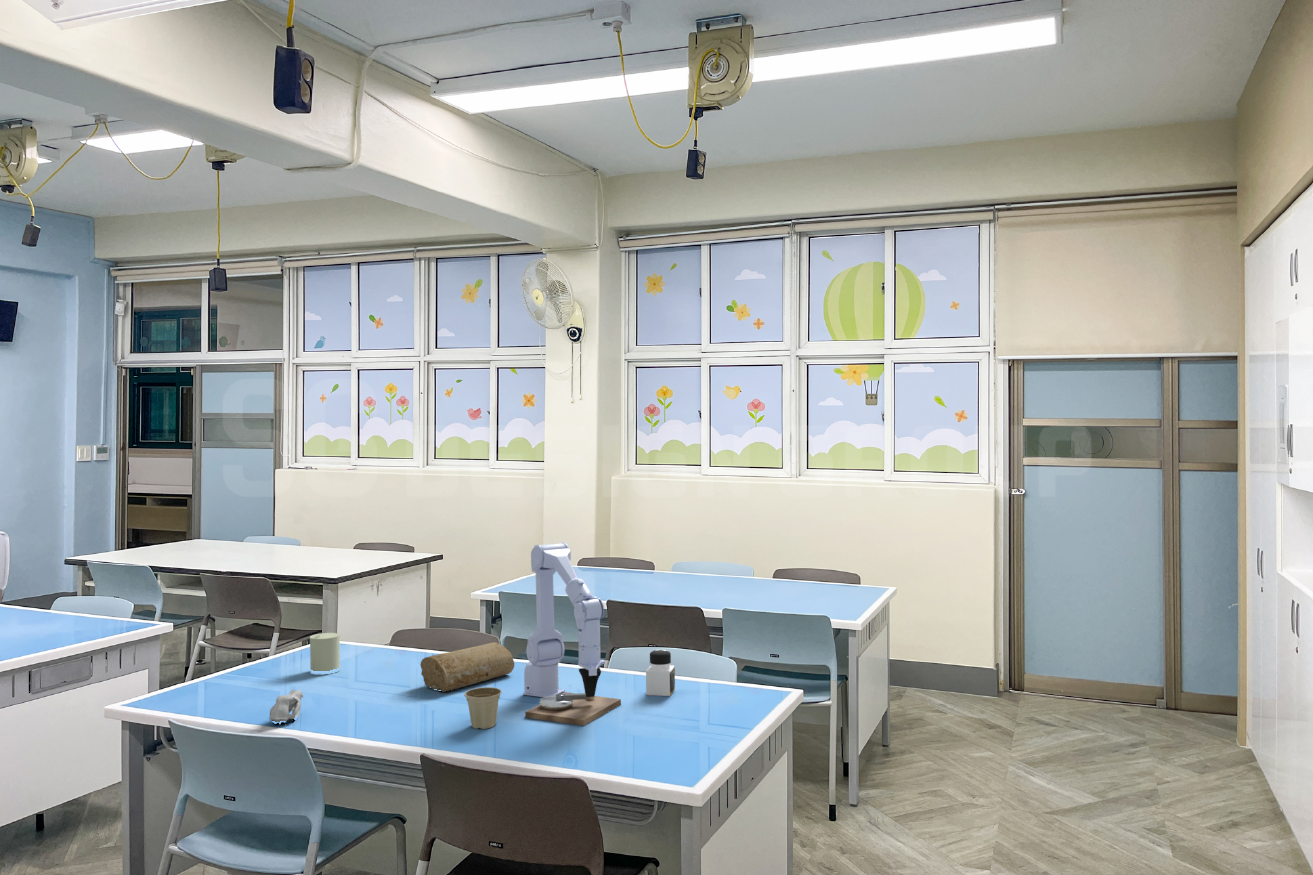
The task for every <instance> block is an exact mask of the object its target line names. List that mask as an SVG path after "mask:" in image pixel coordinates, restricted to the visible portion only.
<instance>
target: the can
mask: <svg viewBox="0 0 1313 875" xmlns="http://www.w3.org/2000/svg"><path fill="white" fill-rule="evenodd" d="M340 636H341V635H340V633H338V632H337V633H336V632H322V633H317V634H313V635H311V636H309V653H310V657H309V658H310V663H309V664H310V665H309V666H310V669H311V670H313V671H330V670H333V669H337V668H339V667H340V668H341V662H340V661H341V660H340V658H341V656H340V655H341V654H340V651H341V650H340V648H341V646H340V644H341V643H340V638H341V637H340Z"/></svg>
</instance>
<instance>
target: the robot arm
mask: <svg viewBox="0 0 1313 875" xmlns="http://www.w3.org/2000/svg"><path fill="white" fill-rule="evenodd" d="M571 557H572V555H571V549H570V546H569V545H568V544H567V543H566V542H560V543H559V542H558V543H550V544H549V543H547V544H536V545H534V547H533V548H532V549H531V551H530V559H531V560H530V564H531V566H530V567H531V572H532V573H535V600H536V601H535V603H536V605H535V606H536V608H535V609H536V629H534V631H533V632H531V634H529V636H528V637H527V645H526V652H525V653H526V657H527V659H528V662H527V664H526V665H525V668H524V672H523V674H524V676H523V677H524V678H523V679H524V681H523V682H524V683H523V684H524V692H523V693H522V696H523V695H524V696H528V697H529V696H531V697H539V698H543V697H546V696H550V695H556V694H562V693H564V692H566V690H565V689H562V688H561V689H560V688H559V663H561V660H562V659H564V658H563V657H564V656H565V644H564V640H563V635H562V633H561V632H559V630H556V629H555V604H554V603H555V598H554V594H555V593H554V575H555V574H556V573H557V574H558V575H559V576H560V578H561V579H562V581H563V582H564V584H565V585H566V586H565V588H564V589H565V593H566V594H567V597H568V599H569V600H570V602H571V604H572V605H573V607H574V609H573V615H574V618H575V625H576V628H577V629H578V630H577V631H578V662H577V665H578V666H579V667H581V668H578V673H579V674H580V676H581V678H582V682H583V683H582V684H583V688H584V693H585V694H586V697H594V696H596V692H597V691H596V690H597V684H598V681H599V678H600V676H601V674H602V670H601V668H600V666H601V665H605V664H606V661H605V660H604V659H601V620H602V619H603V618H604V614H605V607H604V602H603V601H602V599H601V598H600V597H597V596H596V595H593V594H592V592H591V590H590V588H589V587H588V586H587V584H586V582H585V581H584V579H582V578H579V577H578V575H577V574H576V571H575V569H574V566H573V565H572V563H571V559H572V558H571Z"/></svg>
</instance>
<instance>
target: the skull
mask: <svg viewBox="0 0 1313 875" xmlns="http://www.w3.org/2000/svg"><path fill="white" fill-rule="evenodd" d="M302 698H304V694H303V691H301V690H299V689H295V690H294V689H292V690H291V691H290V692H289V693H288V694H286V695H278V696H277V697H276V699H275V704H274V705H272V707H271V708H270V709H269V716H268V717H269V719H268V720H270V722H271V721H275V722H280V721H287V720H288V721H289V720H293V719H294V718H295V717H297V716H298V715H299V716H300V714H301V706H302V703H301V701H302ZM290 712H291V714H290ZM288 721H287V722H288Z"/></svg>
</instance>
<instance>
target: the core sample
mask: <svg viewBox="0 0 1313 875" xmlns="http://www.w3.org/2000/svg"><path fill="white" fill-rule="evenodd" d="M419 666H420V669H421V673H420V675H421V676H422V677H423V678H422V679H423V682H424V685H425V687H427V686H428V687H431V688H433V689H437V690H441V691H444V692H443V693H447V692H451V691H455V690H458V689H462V688H465V687H468V685H469V686H471V685H475V684H478V683H482V682H485V681H488V680H492V679H496V678H499V677H503V676H505V675H509V674H511V673H512V672H513V671H514V668H515V661H514V658H513V656H512V653H511V652H510V651H509V650H508V649H507V648H506V647H505V646H503V645H502V644H500V643H498V642H494V641H493V642H488V643H484V644H480V645H476V646H471V647H466V648H463V649H458V650H453V651H448V652H443V653H439V654H434V655H431V656H430V655H428V656H427V657H425V656H424V658H422V659H421V660H420V665H419ZM428 687H427V688H428ZM461 687H462V688H461ZM433 689H432V690H433ZM454 689H455V690H454ZM450 690H451V691H450ZM446 691H447V692H446Z"/></svg>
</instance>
